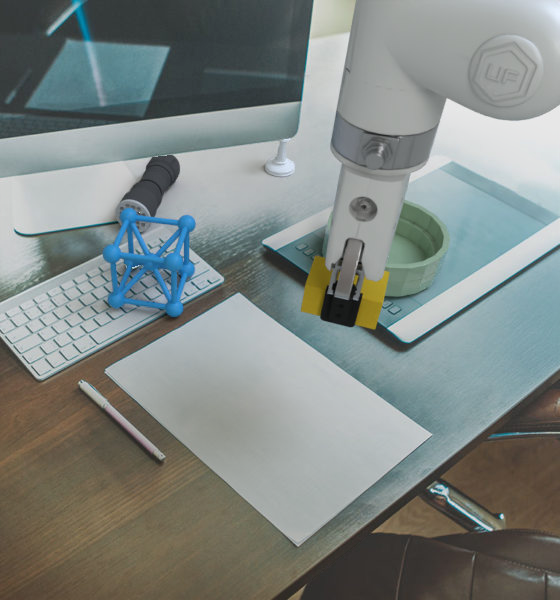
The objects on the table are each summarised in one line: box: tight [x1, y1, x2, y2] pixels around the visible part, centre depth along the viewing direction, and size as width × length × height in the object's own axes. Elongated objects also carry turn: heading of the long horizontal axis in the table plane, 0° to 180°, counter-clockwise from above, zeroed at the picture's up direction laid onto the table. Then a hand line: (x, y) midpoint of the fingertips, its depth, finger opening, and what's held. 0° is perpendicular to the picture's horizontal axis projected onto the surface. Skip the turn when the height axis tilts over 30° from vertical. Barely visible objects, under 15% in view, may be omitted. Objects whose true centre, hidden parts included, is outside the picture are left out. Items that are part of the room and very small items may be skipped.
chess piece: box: [264, 137, 296, 178], centre depth 104 cm, size 5×5×10 cm
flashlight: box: [114, 154, 181, 233], centre depth 100 cm, size 15×5×5 cm, turn 160°
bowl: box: [321, 199, 451, 297], centre depth 88 cm, size 16×16×6 cm
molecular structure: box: [101, 208, 197, 318], centre depth 83 cm, size 10×10×10 cm
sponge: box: [300, 255, 389, 330], centre depth 62 cm, size 7×4×4 cm, turn 68°
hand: (342, 302), depth 62 cm, fingers closed on sponge, 4 cm apart
